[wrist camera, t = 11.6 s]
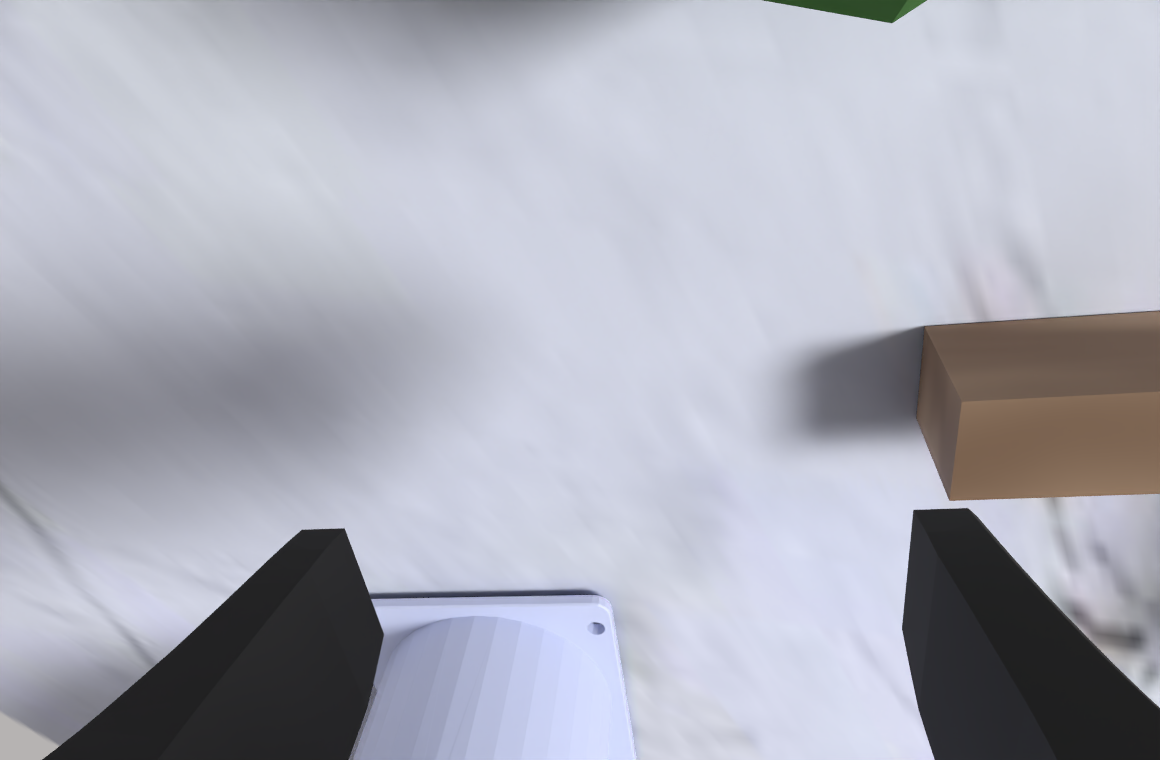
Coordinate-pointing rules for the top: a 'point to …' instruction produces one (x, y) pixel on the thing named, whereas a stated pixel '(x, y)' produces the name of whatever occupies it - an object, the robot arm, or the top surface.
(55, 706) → the top surface
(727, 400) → the top surface
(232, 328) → the top surface
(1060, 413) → the wall board
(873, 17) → the bell pepper
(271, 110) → the top surface
